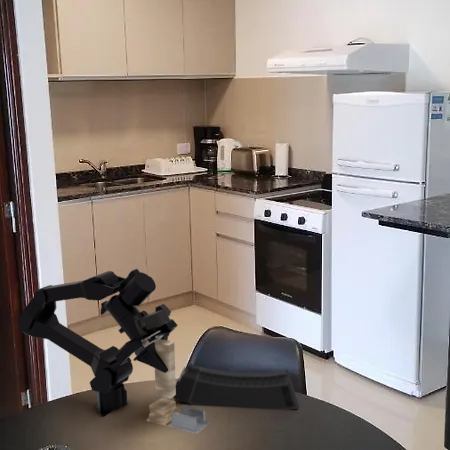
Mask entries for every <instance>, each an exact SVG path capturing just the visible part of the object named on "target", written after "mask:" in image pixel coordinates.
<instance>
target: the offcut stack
mask: <svg viewBox="0 0 450 450" xmlns="http://www.w3.org/2000/svg"><path fill="white" fill-rule="evenodd" d="M148 406H149V412H150V413H149V414H148V417H147V419H146V422H148V423H151V424H152V423H153V424H156V425H160V426H165V427H166V426H168V425H169V424H170V423H171V422H172V413H173V412H175V413H179V412H178V409H177V408H178V407H177V406H176V401H175V400H172V399H169V398H164V397H160V398H159V399H157V400H155V401H154V402H152V403H151V404H149V405H148ZM179 414H180V413H179Z"/></svg>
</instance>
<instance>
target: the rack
mask: <svg viewBox="0 0 450 450" xmlns="http://www.w3.org/2000/svg"><path fill="white" fill-rule="evenodd" d="M210 423H211V421H208V420H206V410H205V409H203V408H198V407H192V406H188V405H185V404H182V405H181V406H180V413H175V412H173V413H172V421H171V422H169V423H168V424H167V427H169V428H172V429H173V428H174V429H177V430H180V431H185V432H188V433H193V434H196V435H197V434H198V435H199V433H200V432H201V431H202V430H203V429H205V427H207V426H208V425H209V424H210Z"/></svg>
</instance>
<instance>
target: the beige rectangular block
mask: <svg viewBox="0 0 450 450" xmlns="http://www.w3.org/2000/svg"><path fill="white" fill-rule="evenodd" d="M155 350H156V352H157V353H158V355H159V356H160V358H161V359H162V361H163V362H164V363H165V365H166V367H167V368H168V371H167V372H166V373H164V372H162V371H160V370H158V369H156V368H154V379H155V380H154V383H155V384H154V386H155V388H154V389H155V396H157V397H160V398H162V397H163V398H166V399H169V400H172V398H174V397H173V396H175V395H176V383H177V382H176V356H175V355H176V354H175V353H176V351H175V341H173V340H162V339H159V340H157V341H156V342H155Z"/></svg>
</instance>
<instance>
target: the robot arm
mask: <svg viewBox="0 0 450 450" xmlns="http://www.w3.org/2000/svg"><path fill="white" fill-rule="evenodd" d="M156 288H157V287H156V282H155V280H154V279H153V277H151V276H150V275H148V274H147V273H144V272H141V271H140V270H139V268H135V269H133V270H131V271H130V272H129V273H128V275H127V276H126V277H122V276H119V275H117V274H116V273H114V271H112V270H107V271H105V272H102V273H99V274H97V275H94V276H91V277H89V278H87V279H85V280H78V281H72V282H71V281H70V282H65V283H61V284H60V283H59V284H54V285H53V284H48V285H45V286H42V287H41V288H38V289H37V290H36V291H35V292H34V295H33V297H32V299H31V300H30V301H29V302H28V304H27V305H26V306H25V308H24V309H23V311H22V312H21V314H20V315H19V318H18V327H19V329H20V331H21V332H22V333H23V334H24V335H27V336H29V337H32V338H36V339H43V340H44V339H45V340H48V341H50V342H51V343H53V344H55V345H56V346H58V347H59V348H61V349H62V350H64V351H65V352H67V353H69V354H70V355H71V356H73V357H74V358H77V359H78V360H80V361H81V362H83V363H84V364H86V365H87V366H89V367H90V369H91V371H92V373H93V376H94V377H93V378H92V379H91V380H90V381H89V385H90V388H91V391H92V392H93V391H94V392H96V401H97V402H96V404H95V407H96V409H97V411H98V413H99V415H100V417H106V416H107V415H108V414H110V413H112V412H114V411H117V410H119V409H121V408H122V407H125V406H127V405H128V393H127V389H126V387H125V384H124V383H125V382H127V381H129V378H130V376H131V375H132V373H133V372H134V371H133V370H134V367H133V363H132V359H131V358H130V357H131V356H132V355H133V354H134V355H135V357H134V358H133V361H135V362H136V361H138V362H140V363H142V364H144V365H147V366H150V367H152V368H154V369H155V368H156V369H158V370H160V371H162V372H164V373H166V372H167V371H168V368H167V367H166V365H165V363H164V362H163V361H162V359H161V358H160V356H159V355H158V353H157V352H156V350H155V342H156V341H157V340H159V339H162V340H167V341H169V340H168V338H169V337H170V334H171V333H172V332H173V331H174V330H175V329H176V328H177V327H178V324H177V323H176V322H175V320H174V319H172V318H170V316H171V315H172V312H171V309H170V308H168V306H167V305H166V304H165V303H163V304H162V303H161V304H159V305H158V306H155V311H153V312H152V313H148V312H147V311H146V310H141V311H140V309H139V308H138V307H139V306H141V305H142V304H143V303H144V301H146V299H148V297H150V296H151V295H152V293H153V292H154V291H155V290H156ZM117 293H118V294H117ZM110 296H111V297H110ZM108 297H110V298H109V299H108V300H105V301H103V302H101V304H100V306H101V307H100V313H99V314H100V315H101V316H102V315H105V314H107V313H109V314H110V316H111V317H112V318H113V319H114V320H115V322H116V323H117V325H118V326H119V327H120V328H119V329H118V332H119V333H120V334H123V333H125V334H126V336H127V337H128V338H129V340H128V341H127V342H125V343H124V345H122V346H121V347H120V348H119V347H117V346H114V345H112V346H110V347H109V348H106V349H103V348H101V347H99V346H98V345H96V344H94V343H93V342H91V341H89V340H88V339H86V338H84V337H83V336H82V335H80V334H78V333H77V332H75V331H74V330H71V329H70V328H69V327H67V326H66V325H63V324H62V323H60V321H59V319H58V316H57V314H56V310H57V302H61V301H69V300H73V299H85V300H89V301H97V302H99V301H101V300H104V299H106V298H108Z"/></svg>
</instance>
